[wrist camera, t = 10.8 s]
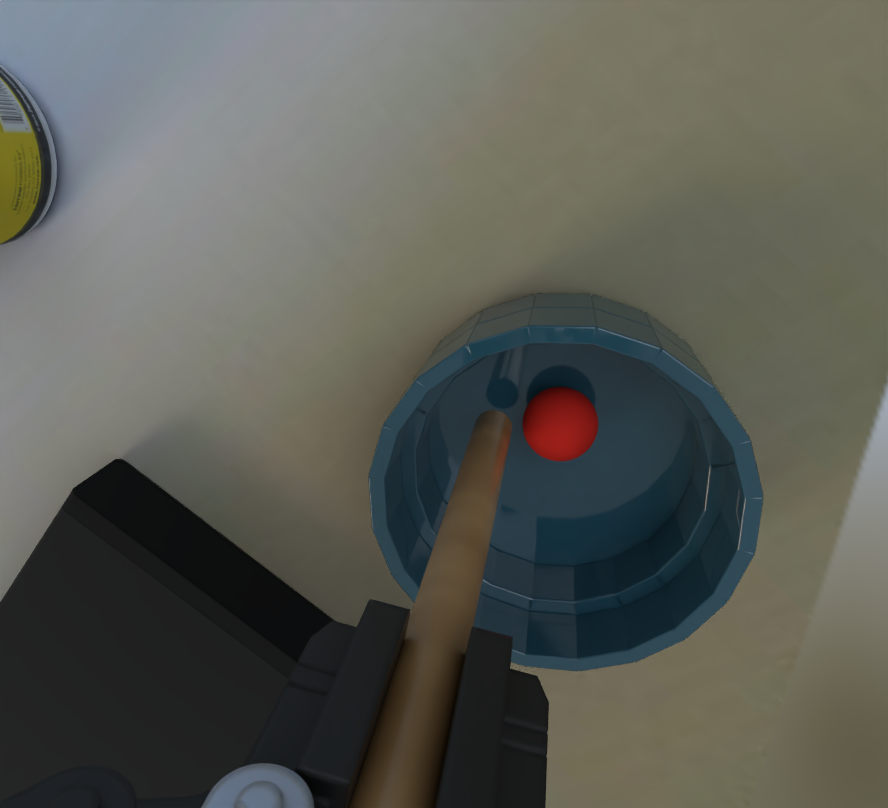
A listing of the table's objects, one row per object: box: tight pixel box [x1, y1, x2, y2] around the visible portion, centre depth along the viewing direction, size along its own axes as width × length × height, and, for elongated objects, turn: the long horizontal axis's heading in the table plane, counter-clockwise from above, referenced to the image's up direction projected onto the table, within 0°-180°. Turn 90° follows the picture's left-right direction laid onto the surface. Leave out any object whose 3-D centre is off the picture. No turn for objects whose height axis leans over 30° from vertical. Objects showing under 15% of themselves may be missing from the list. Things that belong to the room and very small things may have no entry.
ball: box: [523, 387, 598, 461], centre depth 22 cm, size 2×2×2 cm
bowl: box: [368, 293, 763, 671], centre depth 22 cm, size 11×11×5 cm
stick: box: [349, 410, 512, 808], centre depth 15 cm, size 1×1×16 cm
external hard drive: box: [0, 459, 333, 801], centre depth 31 cm, size 14×23×3 cm, turn 141°
